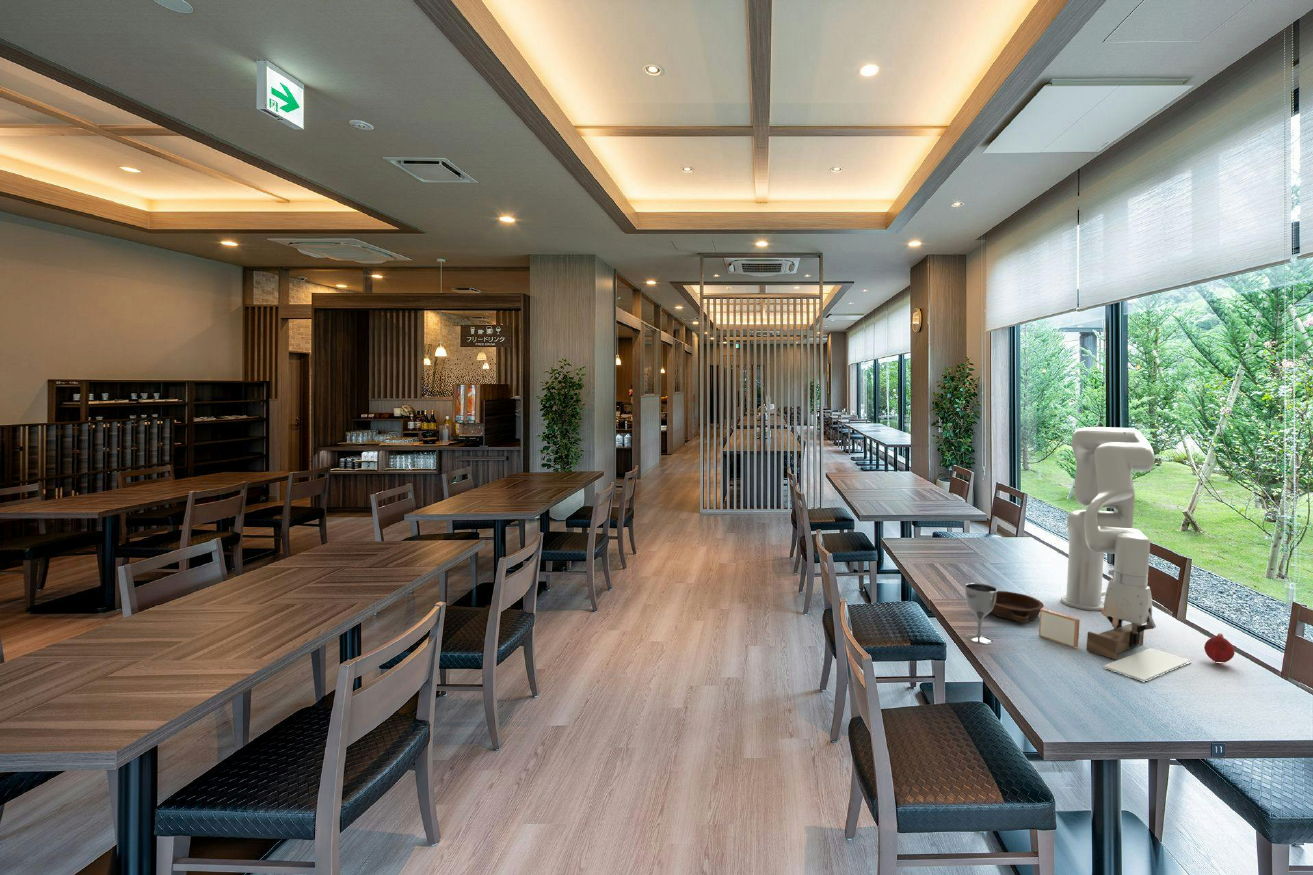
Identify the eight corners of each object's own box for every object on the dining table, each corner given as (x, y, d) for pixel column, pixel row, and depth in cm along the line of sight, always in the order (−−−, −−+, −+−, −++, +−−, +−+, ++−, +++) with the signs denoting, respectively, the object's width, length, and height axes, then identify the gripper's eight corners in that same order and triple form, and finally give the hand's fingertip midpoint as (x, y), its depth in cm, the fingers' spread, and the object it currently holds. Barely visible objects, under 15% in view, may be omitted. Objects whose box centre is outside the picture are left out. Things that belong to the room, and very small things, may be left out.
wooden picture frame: (1041, 635, 182) (1042, 608, 182) (1078, 647, 173) (1079, 619, 173) (1038, 636, 182) (1039, 609, 181) (1075, 648, 173) (1076, 620, 172)
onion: (1235, 670, 160) (1238, 639, 159) (1206, 665, 163) (1208, 634, 162) (1230, 662, 165) (1232, 632, 164) (1201, 657, 168) (1203, 627, 167)
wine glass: (982, 646, 173) (985, 593, 172) (957, 636, 181) (959, 585, 179) (1000, 641, 177) (1003, 589, 176) (975, 631, 184) (977, 581, 183)
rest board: (1150, 650, 172) (1150, 647, 172) (1190, 663, 164) (1191, 660, 164) (1103, 668, 160) (1103, 665, 160) (1144, 682, 152) (1144, 679, 152)
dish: (988, 623, 191) (989, 607, 191) (972, 600, 213) (973, 586, 212) (1053, 629, 187) (1054, 613, 187) (1030, 605, 208) (1031, 590, 208)
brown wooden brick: (1122, 637, 180) (1124, 620, 180) (1151, 646, 174) (1152, 629, 174) (1086, 649, 171) (1087, 631, 171) (1115, 659, 165) (1116, 641, 165)
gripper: (1090, 573, 178) (1086, 636, 180) (1158, 589, 164) (1153, 657, 166) (1104, 569, 182) (1100, 631, 183) (1172, 585, 168) (1167, 652, 169)
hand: (1125, 643), depth 174 cm, fingers closed on brown wooden brick, 2 cm apart
